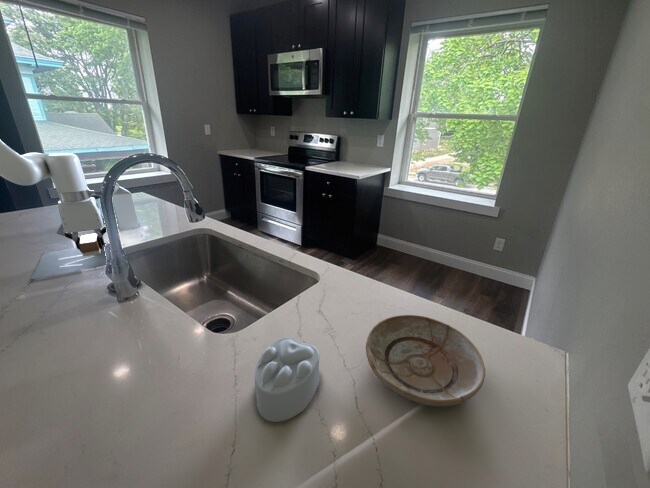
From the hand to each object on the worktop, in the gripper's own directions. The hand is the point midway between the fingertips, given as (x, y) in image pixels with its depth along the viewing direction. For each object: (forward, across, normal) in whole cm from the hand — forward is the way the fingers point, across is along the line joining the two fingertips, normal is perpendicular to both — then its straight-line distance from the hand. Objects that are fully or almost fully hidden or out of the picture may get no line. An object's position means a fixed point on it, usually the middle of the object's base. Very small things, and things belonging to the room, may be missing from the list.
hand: (92, 248), depth 99 cm
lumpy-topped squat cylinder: (+4, -34, +79) cm, 86 cm away
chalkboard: (+4, +5, -2) cm, 7 cm away
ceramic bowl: (+4, -61, +88) cm, 107 cm away
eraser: (+1, 0, 0) cm, 1 cm away
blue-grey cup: (+5, +2, -38) cm, 38 cm away
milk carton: (+5, -10, -29) cm, 31 cm away
